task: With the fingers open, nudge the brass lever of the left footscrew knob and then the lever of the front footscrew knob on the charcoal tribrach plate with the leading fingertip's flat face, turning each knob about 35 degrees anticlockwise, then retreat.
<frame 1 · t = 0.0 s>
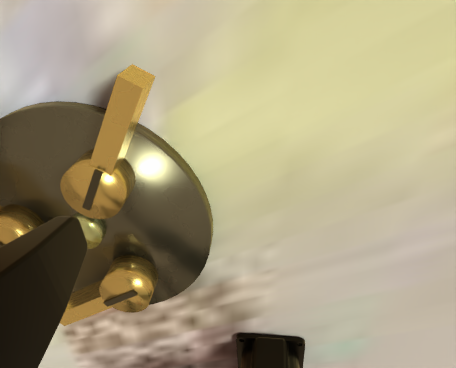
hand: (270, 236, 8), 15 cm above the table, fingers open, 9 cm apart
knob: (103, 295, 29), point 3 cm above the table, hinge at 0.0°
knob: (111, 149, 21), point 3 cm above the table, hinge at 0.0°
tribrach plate: (95, 216, 28), on the table
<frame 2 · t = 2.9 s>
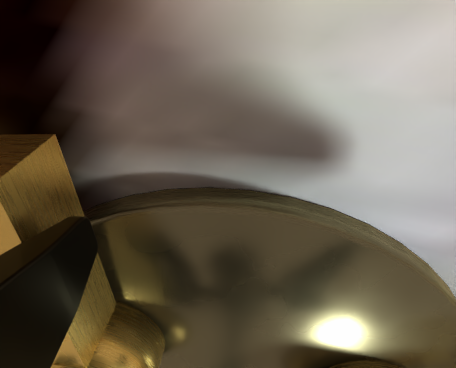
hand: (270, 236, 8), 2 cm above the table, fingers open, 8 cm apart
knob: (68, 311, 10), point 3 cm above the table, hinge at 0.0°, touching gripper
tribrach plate: (228, 367, 15), on the table
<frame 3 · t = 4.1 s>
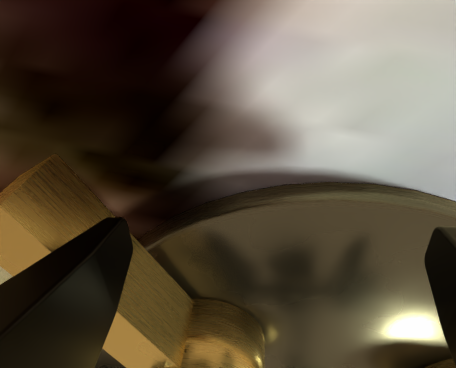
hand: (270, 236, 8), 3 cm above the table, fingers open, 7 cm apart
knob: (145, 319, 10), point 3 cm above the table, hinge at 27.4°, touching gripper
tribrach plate: (309, 367, 15), on the table
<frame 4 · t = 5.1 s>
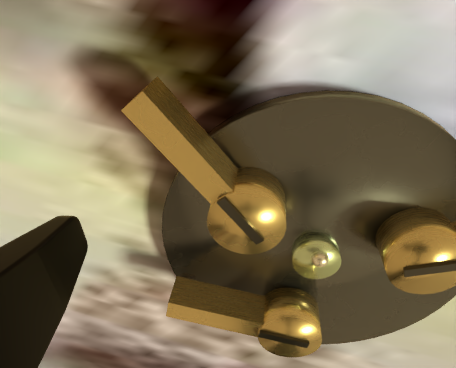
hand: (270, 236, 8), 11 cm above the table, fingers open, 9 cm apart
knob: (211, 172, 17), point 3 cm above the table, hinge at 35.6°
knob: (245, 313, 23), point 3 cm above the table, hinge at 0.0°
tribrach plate: (313, 237, 22), on the table
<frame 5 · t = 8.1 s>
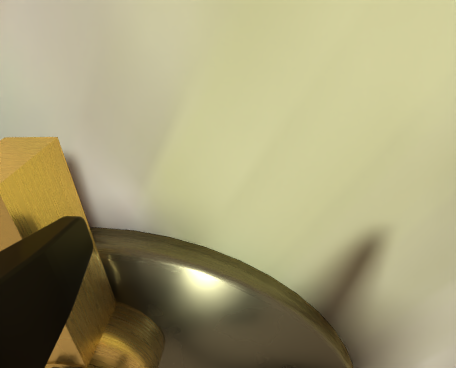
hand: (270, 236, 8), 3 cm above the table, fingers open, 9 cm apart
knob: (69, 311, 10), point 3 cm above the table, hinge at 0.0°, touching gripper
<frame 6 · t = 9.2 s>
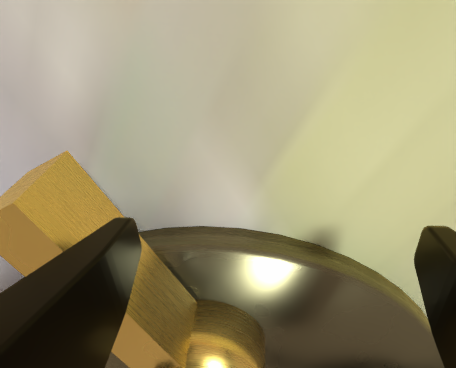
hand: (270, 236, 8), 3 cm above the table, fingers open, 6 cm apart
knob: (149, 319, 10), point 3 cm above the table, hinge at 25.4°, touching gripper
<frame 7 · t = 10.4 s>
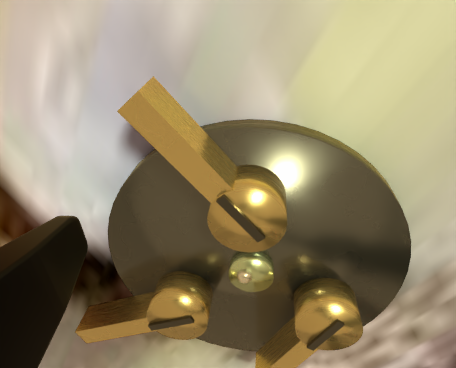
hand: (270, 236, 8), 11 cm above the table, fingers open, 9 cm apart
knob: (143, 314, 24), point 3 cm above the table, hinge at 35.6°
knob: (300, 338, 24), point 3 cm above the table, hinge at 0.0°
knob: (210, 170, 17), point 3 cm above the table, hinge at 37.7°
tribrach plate: (252, 252, 23), on the table
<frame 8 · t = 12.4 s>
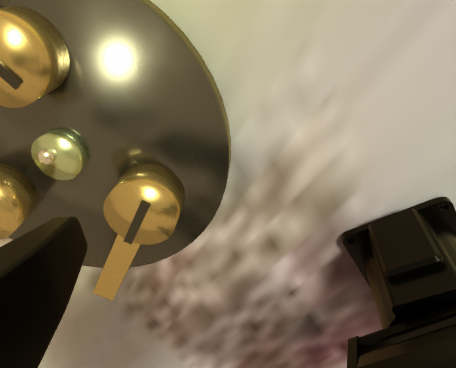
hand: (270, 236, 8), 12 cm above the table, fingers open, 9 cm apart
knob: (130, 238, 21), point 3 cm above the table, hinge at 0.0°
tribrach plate: (75, 141, 21), on the table
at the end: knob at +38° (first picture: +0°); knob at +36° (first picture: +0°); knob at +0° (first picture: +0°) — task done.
